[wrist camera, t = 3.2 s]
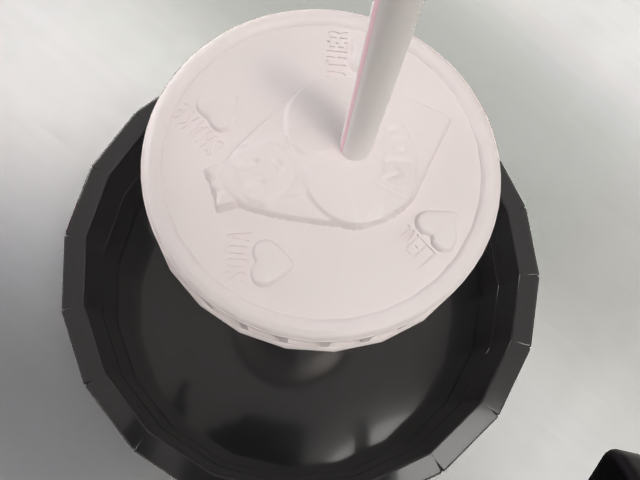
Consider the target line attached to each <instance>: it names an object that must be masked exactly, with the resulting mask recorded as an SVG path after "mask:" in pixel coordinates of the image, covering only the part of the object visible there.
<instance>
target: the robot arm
mask: <svg viewBox="0 0 640 480" xmlns="http://www.w3.org/2000/svg"><path fill="white" fill-rule="evenodd" d="M588 480H640V455H639V454H635V453H631V452H627V451H622V450H618V449H612V450H609V451H608V452H606V453H605V454H604V456H603V457H602V459H601V460H600V462H599V464H598V465H597V467H596V468H595V470H594V471H593V473H592V475H591V476H590V478H589V479H588Z"/></svg>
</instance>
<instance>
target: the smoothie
mask: <svg viewBox="0 0 640 480" xmlns="http://www.w3.org/2000/svg"><path fill="white" fill-rule="evenodd" d="M424 2H425V0H373V3H372V7H371V12H370V16H369V17H368V16H365V15H360V14H356V13H351V12H345V11H338V10H325V9H302V10H293V11H284V12H279V13H274V14H269V15H266V16H263V17H259V18H256V19H253V20H250V21H248V22H245V23H242V24H240V25H238V26H236V27H234V28H232V29H230V30H228V31H226V32H224V33H222V34H220V35H219V36H217V37H216V38H214V39H212V40H211V41H209V42H208V43H207V44H205V45H204V46H203V47H201V48H200V49H199V50H198V51H196V52H195V53H194V54H193V55H192V56H191V57H190V58H189V59H188V60H187V61H186V62H185V63H184V64H183V65H182V66H181V67H180V68H179V69H178V71H177V72H176V73H175V74H174V76H173V77H172V78H171V80H170V81H169V82H168V84H167V85H166V87H165V88H164V90H163V92H162V93H161V95H160V97H159V98H158V100H157V103H156V105H155V107H154V109H153V111H152V114H151V116H150V119H149V122H148V125H147V128H146V132H145V137H144V141H143V146H142V156H141V185H142V194H143V199H144V204H145V208H146V213H147V216H148V219H149V221H150V224H151V227H152V230H153V233H154V235H155V237H156V239H157V242H158V244H159V246H160V248H161V251H162V253H163V255H164V257H165V260H166V262H167V264H168V266H169V269H170V271H171V272H172V273H173V274H174V275H175V276H176V278H177V279H178V280H179V281H180V282H181V284H182V285H183V286H184V287H185V288H186V290H187V291H188V292H189V293H190V294H191V296H192V297H193V298H194V299H195V300H196V301H197V303H198V304H199V305H200V306H201V307H203V308H204V309H206V310H207V311H209V312H210V313H211V314H213V315H214V316H216V317H217V318H219V319H220V320H222V321H223V322H225V323H226V324H228V325H229V326H231V327H232V328H233V329H235V330H236V331H238V332H239V333H242V334H245V335H248V336H251V337H254V338H256V339H259V340H262V341H265V342H268V343H271V344H274V345H277V346H280V347H283V348H286V349H300V350H315V351H330V352H336V351H341V350H346V349H351V348H356V347H360V346H365V345H370V344H375V343H380V342H383V341H385V340H387V339H389V338H391V337H393V336H395V335H396V334H398V333H400V332H402V331H404V330H406V329H408V328H410V327H412V326H414V325H416V324H418V323H420V322H422V321H423V320H424V319H425V318H427V317H428V316H429V315H430V314H431V313H432V312H433V311H434V310H435V309H436V308H437V307H438V306H439V305H440V304H441V303H443V302H444V301H445V300H446V299H447V298H448V297H449V296H450V295H451V294H452V293H453V292H454V291H455V290H456V289H457V288H458V287H459V286H460V285H461V284H462V283H463V282H464V280H465V279H466V278H467V276H468V275H469V274H470V272H471V271H472V270H473V269H474V267H475V265H476V264H477V262H478V261H479V259H480V257H481V256H482V254H483V252H484V250H485V248H486V246H487V243H488V241H489V239H490V237H491V234H492V231H493V228H494V225H495V222H496V217H497V213H498V208H499V201H500V193H501V170H500V159H499V154H498V149H497V144H496V140H495V137H494V134H493V130H492V127H491V125H490V123H489V120H488V118H487V115H486V113H485V111H484V109H483V107H482V105H481V104H480V102H479V100H478V98H477V97H476V95H475V94H474V92H473V91H472V89H471V87H470V86H469V85H468V83H467V82H466V81H465V80H464V78H463V77H462V76H461V75H460V73H459V72H458V71H457V70H456V69H455V68H454V67H453V66H452V65H451V64H450V63H449V62H448V61H447V60H446V59H445V58H443V57H442V56H441V55H440V54H439V53H438V52H437V51H435V50H434V49H432V48H431V47H430V46H428V45H427V44H426V43H424V42H423V41H421V40H420V39H418V38H416V37H415V36H413V33H414V30H415V27H416V24H417V21H418V19H419V16H420V13H421V10H422V7H423V5H424Z"/></svg>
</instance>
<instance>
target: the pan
mask: <svg viewBox="0 0 640 480" xmlns="http://www.w3.org/2000/svg"><path fill="white" fill-rule="evenodd" d="M159 97H160V96H159ZM159 97H157V98H156V99H154V100H153V101H151V102H150V103H148V104H147V105H145V106H144V107H142V108H141V109H140V110H138V111H137V112H136V114H134V115H133V116H132V117H131V118H130V120H129V121H128V122H127V123H126V124H125V126H124V127H123V128H122V129H121V131H120V132H119V133H118V134H117V136H116V137H115V138H114V139H113V141H112V142H111V143H110V144H109V145H108V147H107V148H106V149H105V150H104V152H103V153H102V154H101V155H100V157H99V158H98V159H97V160H96V161H95V163H94V164H93V165H92V168H91V169H90V171H89V174H88V176H87V179H86V181H85V184H84V186H83V189H82V192H81V194H80V197H79V199H78V202H77V205H76V207H75V210H74V212H73V215H72V217H71V220H70V223H69V225H68V228H67V230H66V236H65V240H64V264H63V287H62V309H63V310H62V314H63V317H64V321H65V324H66V327H67V331H68V334H69V337H70V340H71V344H72V347H73V350H74V354H75V357H76V360H77V363H78V367H79V370H80V373H81V377H82V380H83V383H84V384H85V385H86V388H87V389H88V391H89V392H90V393H91V395H92V396H93V397H94V399H95V400H96V402H97V403H98V404H99V406H100V407H101V408H102V410H103V411H104V412H105V414H106V415H107V416H108V418H109V419H110V420H111V422H112V423H113V424H114V426H115V427H116V428H117V430H118V431H119V432H120V434H121V435H122V436H123V438H124V439H125V440H126V442H127V443H128V444H129V446H130V447H131V448H132V449H134V451H135V452H136V453H137V454H139V455H140V456H142V457H143V458H145V459H146V460H148V461H149V462H151V463H152V464H154V465H155V466H157V467H158V468H160V469H161V470H163V471H164V472H166V473H167V474H169V475H170V476H172V477H174V478H175V479H177V480H428V479H430V478H433V477H435V476H437V475H439V474H441V472H442V471H445V470H446V469H447V468H448V467H449V466H450V465H451V464H452V463H453V462H454V461H455V460H456V459H457V458H458V457H459V456H460V455H461V454H462V453H463V452H464V451H465V450H466V449H467V448H468V447H469V446H470V445H471V444H472V443H473V442H474V441H475V440H476V439H477V438H478V437H479V436H480V435H481V434H482V433H483V432H484V431H485V430H486V429H487V428H488V427H489V426H490V425H491V424H492V423H493V422H494V421H495V420H496V419H497V417H498V416H497V415H499V414H500V412H501V410H502V408H503V406H504V404H505V401H506V399H507V397H508V395H509V393H510V391H511V389H512V387H513V385H514V383H515V380H516V378H517V376H518V374H519V372H520V370H521V368H522V366H523V364H524V362H525V359H526V357H527V355H528V353H529V351H530V348H529V347H531V342H532V334H533V325H534V317H535V308H536V300H537V291H538V283H539V277H538V275H539V272H538V267H537V262H536V257H535V252H534V247H533V242H532V237H531V232H530V227H529V222H528V217H527V212H526V209H525V208H524V207H525V205H524V203H523V201H522V200H521V198H520V196H519V194H518V192H517V190H516V189H515V187H514V185H513V183H512V181H511V179H510V177H509V176H508V174H507V172H506V170H505V168H504V166H503V165H502V163H501V161H500V170H501V193H500V201H499V208H498V213H497V217H496V222H495V225H494V228H493V231H492V234H491V237H490V239H489V241H488V243H487V246H486V248H485V250H484V252H483V254H482V256H481V257H480V259H479V261H478V262H477V264H476V265H475V267H474V269H473V270H472V271H471V272H470V274H469V275H468V276H467V278H466V279H465V280H464V282H463V283H462V284H461V285H460V286H459V287H458V288H457V289H456V290H455V291H454V292H453V293H452V294H451V295H450V296H449V297H448V298H447V299H446V300H445V301H444V302H443V303H441V304H440V305H439V306H438V307H437V308H436V309H435V310H434V311H433V312H432V313H431V314H430V315H429V316H428V317H427V318H425V319H424V320H423V321H422V322H420V323H418V324H416V325H414V326H412V327H410V328H408V329H406V330H404V331H402V332H400V333H398V334H396V335H395V336H393V337H391V338H389V339H387V340H385V341H383V342H380V343H375V344H370V345H365V346H360V347H356V348H351V349H346V350H341V351H336V352H330V351H315V350H300V349H286V348H283V347H280V346H277V345H274V344H271V343H268V342H265V341H262V340H259V339H256V338H254V337H251V336H248V335H245V334H242V333H239V332H238V331H236V330H235V329H233V328H232V327H231V326H229V325H228V324H226V323H225V322H223V321H222V320H220V319H219V318H217V317H216V316H214V315H213V314H211V313H210V312H209V311H207V310H206V309H204V308H203V307H201V306H200V305H199V304H198V303H197V301H196V300H195V299H194V298H193V297H192V296H191V294H190V293H189V292H188V291H187V290H186V288H185V287H184V286H183V285H182V284H181V282H180V281H179V280H178V279H177V278H176V276H175V275H174V274H173V273H172V272H171V271H170V269H169V266H168V264H167V262H166V260H165V257H164V255H163V253H162V251H161V248H160V246H159V244H158V242H157V239H156V237H155V235H154V233H153V230H152V227H151V224H150V221H149V219H148V216H147V213H146V208H145V204H144V199H143V194H142V185H141V156H142V146H143V141H144V137H145V132H146V128H147V125H148V122H149V119H150V116H151V114H152V111H153V109H154V107H155V105H156V103H157V100H158V98H159Z"/></svg>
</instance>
